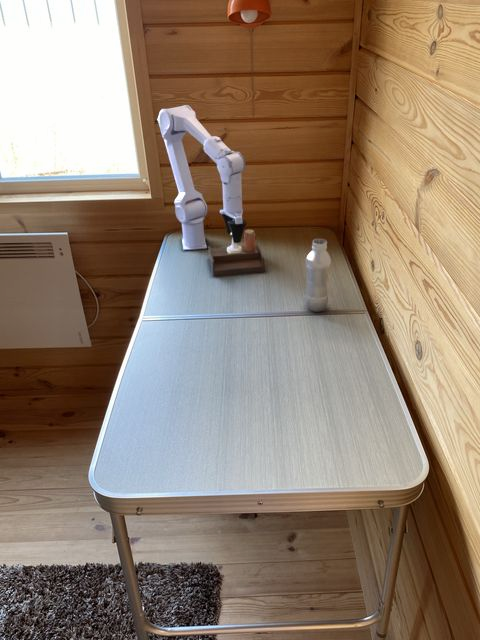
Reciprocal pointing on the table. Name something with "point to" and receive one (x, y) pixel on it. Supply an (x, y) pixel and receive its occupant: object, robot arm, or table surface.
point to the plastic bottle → (317, 276)
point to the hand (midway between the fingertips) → (233, 237)
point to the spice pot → (249, 240)
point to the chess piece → (234, 247)
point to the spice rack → (236, 261)
